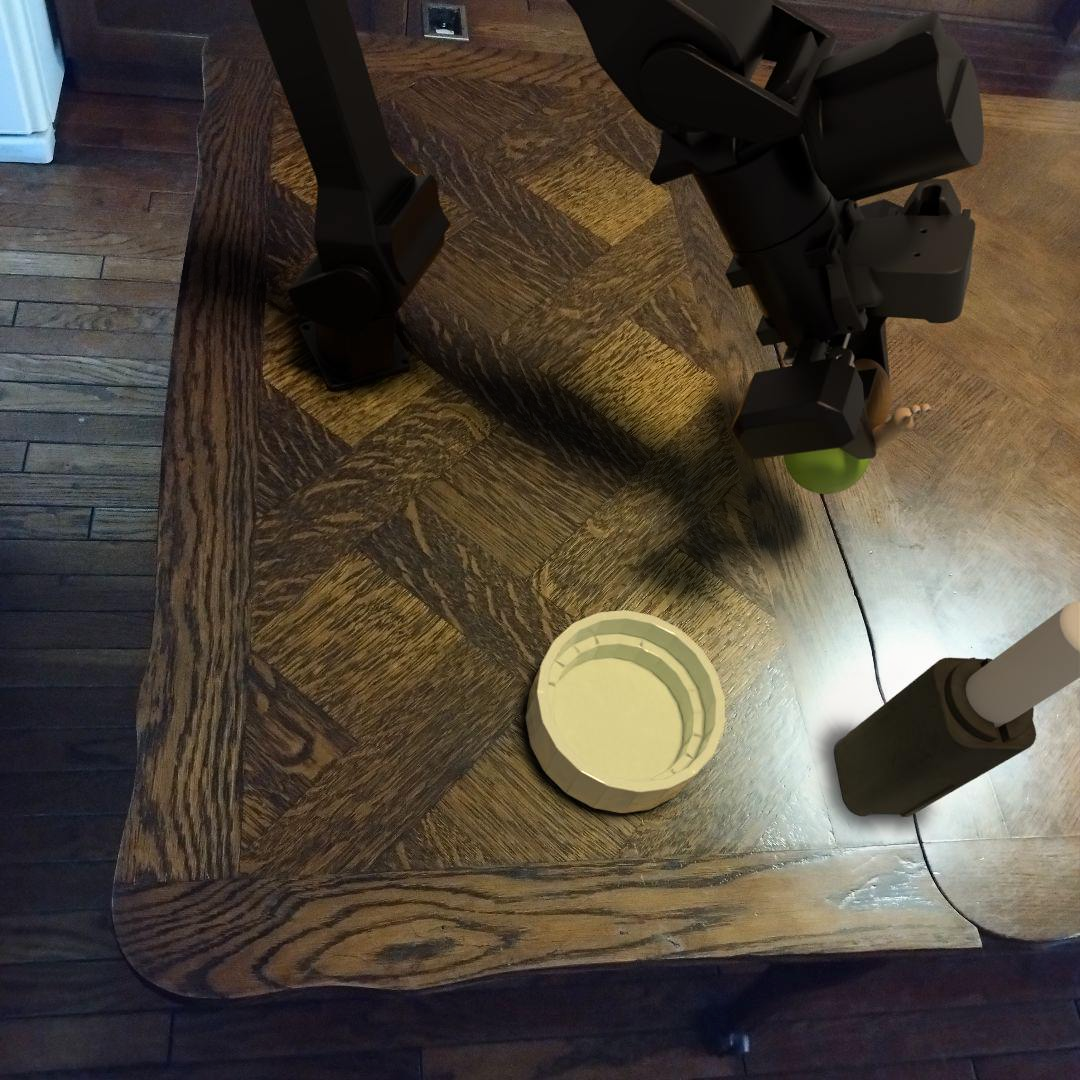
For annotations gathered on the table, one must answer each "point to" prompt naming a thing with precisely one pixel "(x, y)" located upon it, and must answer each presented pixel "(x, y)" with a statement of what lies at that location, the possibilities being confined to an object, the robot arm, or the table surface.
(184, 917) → the table surface
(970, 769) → the candle
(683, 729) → the bowl
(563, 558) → the table surface
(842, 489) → the snail figurine
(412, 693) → the table surface
